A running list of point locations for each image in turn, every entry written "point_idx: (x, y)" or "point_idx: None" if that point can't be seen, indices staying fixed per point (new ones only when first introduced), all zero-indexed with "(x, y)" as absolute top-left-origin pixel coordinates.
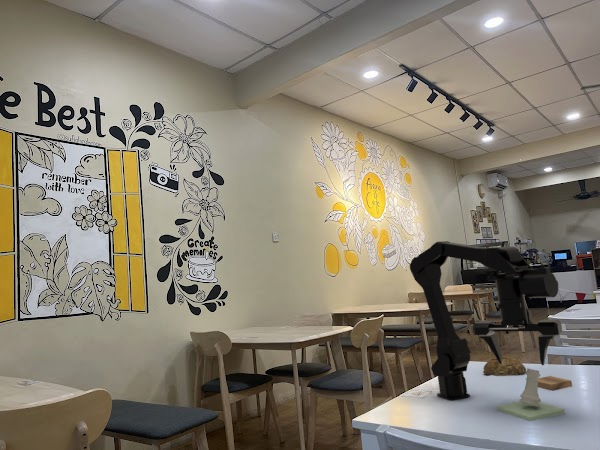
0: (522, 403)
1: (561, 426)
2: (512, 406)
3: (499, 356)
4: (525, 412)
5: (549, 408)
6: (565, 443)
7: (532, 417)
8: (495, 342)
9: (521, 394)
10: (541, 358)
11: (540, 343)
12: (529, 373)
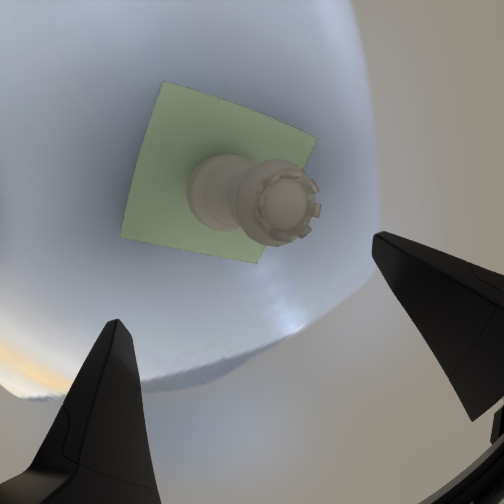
0: (170, 154)
1: (321, 231)
2: (160, 207)
3: (138, 388)
4: (228, 235)
5: (276, 156)
6: (340, 299)
7: (260, 253)
8: (135, 489)
9: (207, 221)
10: (402, 295)
11: (459, 381)
12: (276, 243)
